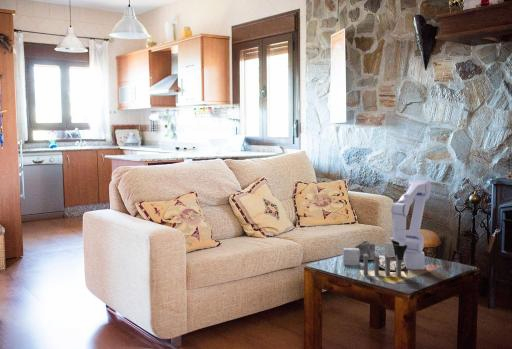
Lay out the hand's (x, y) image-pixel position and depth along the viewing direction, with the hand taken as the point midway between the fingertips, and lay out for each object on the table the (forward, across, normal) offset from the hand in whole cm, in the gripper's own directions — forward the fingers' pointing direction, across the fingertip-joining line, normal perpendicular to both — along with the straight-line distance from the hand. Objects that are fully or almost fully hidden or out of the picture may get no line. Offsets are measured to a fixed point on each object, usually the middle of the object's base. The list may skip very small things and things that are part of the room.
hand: (398, 257), depth 243 cm
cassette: (+10, -36, +4) cm, 37 cm away
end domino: (+8, 0, -15) cm, 17 cm away
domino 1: (+8, 0, -10) cm, 13 cm away
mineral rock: (+10, -31, -14) cm, 35 cm away
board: (+9, -1, -7) cm, 11 cm away
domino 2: (+8, 0, -5) cm, 10 cm away
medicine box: (+9, -17, -20) cm, 28 cm away
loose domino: (+8, 0, 0) cm, 8 cm away
